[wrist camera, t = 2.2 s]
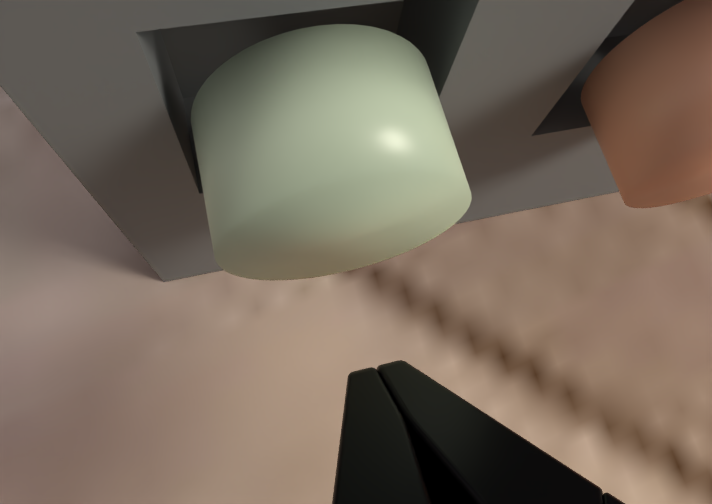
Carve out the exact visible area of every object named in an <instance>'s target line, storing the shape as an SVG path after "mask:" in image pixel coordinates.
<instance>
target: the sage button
mask: <svg viewBox="0 0 712 504" xmlns="http://www.w3.org/2000/svg"><path fill="white" fill-rule="evenodd" d="M191 126H192V131H193V137H194V143H195V148H196V154H197V160H198V166H199V171H200V177H201V183H202V189H203V194H204V200H205V206H206V212H207V217H208V223H209V229H210V234H211V240H212V246H213V252H214V257H215V261H216V263H217V264H218V265H219V267H221V268H222V269H223V270H224V271H226V272H228V273H230V274H233V275H236V276H239V277H244V278H249V279H257V280H294V279H305V278H313V277H320V276H326V275H331V274H336V273H341V272H345V271H350V270H354V269H357V268H361V267H365V266H368V265H371V264H375V263H378V262H381V261H384V260H387V259H390V258H392V257H395V256H397V255H400V254H403V253H405V252H407V251H409V250H412V249H414V248H416V247H418V246H420V245H422V244H424V243H426V242H428V241H430V240H432V239H433V238H435V237H437V236H438V235H440V234H441V233H443V232H445V231H446V230H447V229H449V228H450V227H451V226H453V225H454V224H455V223H456V222H457V221H458V220H459V219H460V218H461V217H462V216H463V215H464V214H465V213H466V211H467V209H468V208H469V206H470V203H471V200H472V197H471V191H470V188H469V185H468V182H467V179H466V176H465V173H464V170H463V167H462V164H461V161H460V159H459V156H458V153H457V150H456V147H455V144H454V141H453V138H452V135H451V132H450V129H449V126H448V123H447V120H446V117H445V114H444V111H443V108H442V105H441V103H440V100H439V97H438V94H437V91H436V88H435V85H434V82H433V79H432V76H431V73H430V70H429V67H428V65H427V62H426V60H425V58H424V56H423V55H422V53H421V52H420V51H419V49H417V48H416V47H415V46H414V45H413V44H412V43H411V42H409V41H408V40H406V39H404V38H403V37H401V36H399V35H397V34H394V33H392V32H390V31H387V30H383V29H379V28H376V27H371V26H364V25H356V24H331V25H318V26H312V27H307V28H301V29H297V30H293V31H289V32H285V33H282V34H279V35H276V36H273V37H271V38H268V39H265V40H263V41H260V42H258V43H256V44H254V45H252V46H250V47H248V48H246V49H244V50H243V51H241V52H239V53H238V54H236V55H234V56H233V57H231V58H230V59H228V60H227V61H226V62H225V63H223V64H222V65H221V66H220V67H218V68H217V69H216V70H215V71H214V72H213V73H212V74H211V75H210V76H209V77H208V78H207V79H206V81H205V82H204V84H203V85H202V86H201V88H200V89H199V91H198V93H197V95H196V97H195V99H194V102H193V105H192V109H191Z"/></svg>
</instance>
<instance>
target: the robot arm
mask: <svg viewBox="0 0 712 504" xmlns="http://www.w3.org/2000/svg"><path fill="white" fill-rule="evenodd" d="M332 504H625V503H623V502H622V501H620V500H619V499H617V498H615V497H614V496H612V495H611V494H609V493H604V494H603V493H602V489H601V488H600V487H598V486H597V485H595V484H593V483H592V482H590V481H589V480H587V479H586V478H584V477H583V476H581V475H580V474H578V473H576V472H575V471H573V470H572V469H570V468H569V467H567V466H566V465H564V464H563V463H561V462H559V461H558V460H556V459H555V458H553V457H552V456H550V455H549V454H547V453H546V452H544V451H542V450H541V449H539V448H538V447H536V446H535V445H533V444H532V443H530V442H529V441H527V440H526V439H524V438H522V437H521V436H519V435H518V434H516V433H515V432H513V431H512V430H510V429H509V428H507V427H505V426H504V425H502V424H501V423H499V422H498V421H496V420H495V419H493V418H492V417H490V416H488V415H487V414H485V413H484V412H482V411H481V410H479V409H478V408H476V407H475V406H473V405H472V404H470V403H468V402H467V401H465V400H464V399H462V398H461V397H459V396H458V395H456V394H455V393H453V392H451V391H450V390H448V389H447V388H445V387H444V386H442V385H441V384H439V383H438V382H436V381H434V380H433V379H431V378H430V377H428V376H427V375H425V374H424V373H422V372H421V371H419V370H417V369H416V368H414V367H413V366H411V365H410V364H408V363H407V362H405V361H402V360H400V361H395V362H391V363H387V364H383V365H380V366H378V367H377V369H375V368H372V367H371V368H366V369H362V370H358V371H354V372H351V373H350V374H349V375H348V380H347V388H346V396H345V404H344V412H343V420H342V429H341V437H340V445H339V453H338V461H337V469H336V477H335V485H334V493H333V501H332Z"/></svg>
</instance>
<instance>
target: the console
mask: <svg viewBox="0 0 712 504" xmlns="http://www.w3.org/2000/svg"><path fill="white" fill-rule="evenodd" d="M682 1H684V0H0V86H1V87H2V88H3V89H4V91H5V92H6V93H7V94H8V95H9V97H10V98H11V99H12V100H13V101H14V103H15V104H16V105H17V106H18V107H19V109H20V110H21V111H22V112H23V113H24V115H25V116H26V117H27V118H28V120H29V121H30V122H31V123H32V124H33V126H34V127H35V128H36V129H37V130H38V132H39V133H40V134H41V135H42V136H43V138H44V139H45V140H46V141H47V142H48V144H49V145H50V146H51V147H52V148H53V150H54V151H55V152H56V153H57V154H58V156H59V157H60V158H61V159H62V160H63V162H64V163H65V164H66V165H67V166H68V168H69V169H70V170H71V171H72V172H73V174H74V175H75V176H76V177H77V178H78V180H79V181H80V182H81V183H82V184H83V186H84V187H85V188H86V189H87V190H88V192H89V193H90V194H91V195H92V196H93V198H94V199H95V200H96V201H97V202H98V204H99V205H100V206H101V207H102V208H103V210H104V211H105V212H106V213H107V214H108V216H109V217H110V218H111V219H112V220H113V222H114V223H115V224H116V225H117V226H118V228H119V229H120V230H121V231H122V232H123V234H124V235H125V236H126V237H127V238H128V240H129V241H130V242H131V243H132V244H133V246H134V247H135V248H136V249H137V250H138V252H139V253H140V254H141V255H142V256H143V258H144V259H145V260H146V261H147V262H148V264H149V265H150V266H151V267H152V268H153V270H154V271H155V272H156V273H157V274H158V276H159V277H160V278H161V279H162V280H163V282H166V281H171V280H176V279H181V278H186V277H191V276H196V275H201V274H206V273H211V272H216V271H221V270H223V269H222V268H221V267H219V265H218V264H217V263H216V261H215V257H214V252H213V246H212V240H211V234H210V229H209V223H208V217H207V212H206V206H205V200H204V194H203V189H202V183H201V177H200V171H199V166H198V160H197V154H196V148H195V143H194V137H193V131H192V126H191V109H192V105H193V102H194V99H195V97H196V95H197V93H198V91H199V89H200V88H201V86H202V85H203V84H204V82H205V81H206V79H207V78H208V77H209V76H210V75H211V74H212V73H213V72H214V71H215V70H216V69H217V68H218V67H220V66H221V65H222V64H223V63H225V62H226V61H227V60H228V59H230V58H231V57H233V56H234V55H236V54H238V53H239V52H241V51H243V50H244V49H246V48H248V47H250V46H252V45H254V44H256V43H258V42H260V41H263V40H265V39H268V38H271V37H273V36H276V35H279V34H282V33H285V32H289V31H293V30H297V29H301V28H307V27H312V26H318V25H331V24H356V25H364V26H371V27H376V28H379V29H383V30H387V31H390V32H392V33H394V34H397V35H399V36H401V37H403V38H404V39H406V40H408V41H409V42H411V43H412V44H413V45H414V46H415V47H416V48H417V49H419V51H420V52H421V53H422V55H423V56H424V58H425V60H426V62H427V65H428V67H429V70H430V73H431V76H432V79H433V82H434V85H435V88H436V91H437V94H438V97H439V100H440V103H441V105H442V108H443V111H444V114H445V117H446V120H447V123H448V126H449V129H450V132H451V135H452V138H453V141H454V144H455V147H456V150H457V153H458V156H459V159H460V161H461V164H462V167H463V170H464V173H465V176H466V179H467V182H468V185H469V188H470V191H471V197H472V200H471V203H470V206H469V208H468V209H467V211H466V213H465V214H464V215H463V216H462V217H461V218H460V219H459V220H458V221H457V222H456V223H455V224H457V223H462V222H467V221H473V220H478V219H483V218H488V217H493V216H498V215H503V214H508V213H513V212H518V211H523V210H528V209H533V208H538V207H543V206H548V205H553V204H558V203H563V202H568V201H573V200H578V199H583V198H588V197H593V196H598V195H603V194H608V193H613V192H618V191H619V189H618V187H617V185H616V182H615V180H614V178H613V175H612V173H611V171H610V168H609V166H608V164H607V161H606V159H605V157H604V155H603V152H602V150H601V148H600V145H599V143H598V141H597V138H596V136H595V134H594V131H593V129H592V127H591V124H590V122H589V120H588V117H587V115H586V113H585V110H584V108H583V106H582V103H581V92H582V89H583V86H584V84H585V82H586V80H587V78H588V77H589V75H590V74H591V72H592V71H593V70H594V68H595V67H596V66H597V65H598V64H599V63H600V61H601V60H602V59H603V58H604V57H605V56H606V55H607V54H608V53H609V52H610V51H611V50H612V49H613V48H615V47H616V46H617V45H618V44H619V43H620V42H622V41H623V40H624V39H625V38H626V37H628V36H629V35H630V34H632V33H633V32H634V31H636V30H637V29H638V28H640V27H641V26H643V25H644V24H646V23H647V22H648V21H650V20H651V19H653V18H654V17H656V16H658V15H659V14H661V13H663V12H664V11H666V10H667V9H669V8H671V7H673V6H674V5H676V4H678V3H680V2H682Z"/></svg>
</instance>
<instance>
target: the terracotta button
mask: <svg viewBox="0 0 712 504" xmlns="http://www.w3.org/2000/svg"><path fill="white" fill-rule="evenodd" d="M581 103H582V106H583V108H584V110H585V113H586V115H587V117H588V120H589V122H590V124H591V127H592V129H593V131H594V134H595V136H596V138H597V141H598V143H599V145H600V148H601V150H602V152H603V155H604V157H605V159H606V161H607V164H608V166H609V168H610V171H611V173H612V175H613V178H614V180H615V182H616V185H617V187H618V189H619V192H620V194H621V196H622V199H623V201H624V203H625V204H626V205H627V206H629V207H633V208H651V207H658V206H664V205H669V204H674V203H678V202H682V201H686V200H690V199H693V198H697V197H700V196H704V195H707V194H710V193H712V0H684V1H682V2H680V3H678V4H676V5H674V6H673V7H671V8H669V9H667V10H666V11H664V12H663V13H661V14H659V15H658V16H656V17H654V18H653V19H651V20H650V21H648V22H647V23H646V24H644V25H643V26H641V27H640V28H638V29H637V30H636V31H634V32H633V33H632V34H630V35H629V36H628V37H626V38H625V39H624V40H623V41H622V42H620V43H619V44H618V45H617V46H616V47H615V48H613V49H612V50H611V51H610V52H609V53H608V54H607V55H606V56H605V57H604V58H603V59H602V60H601V61H600V63H599V64H598V65H597V66H596V67H595V68H594V70H593V71H592V72H591V74H590V75H589V77H588V78H587V80H586V82H585V84H584V86H583V89H582V92H581Z"/></svg>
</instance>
